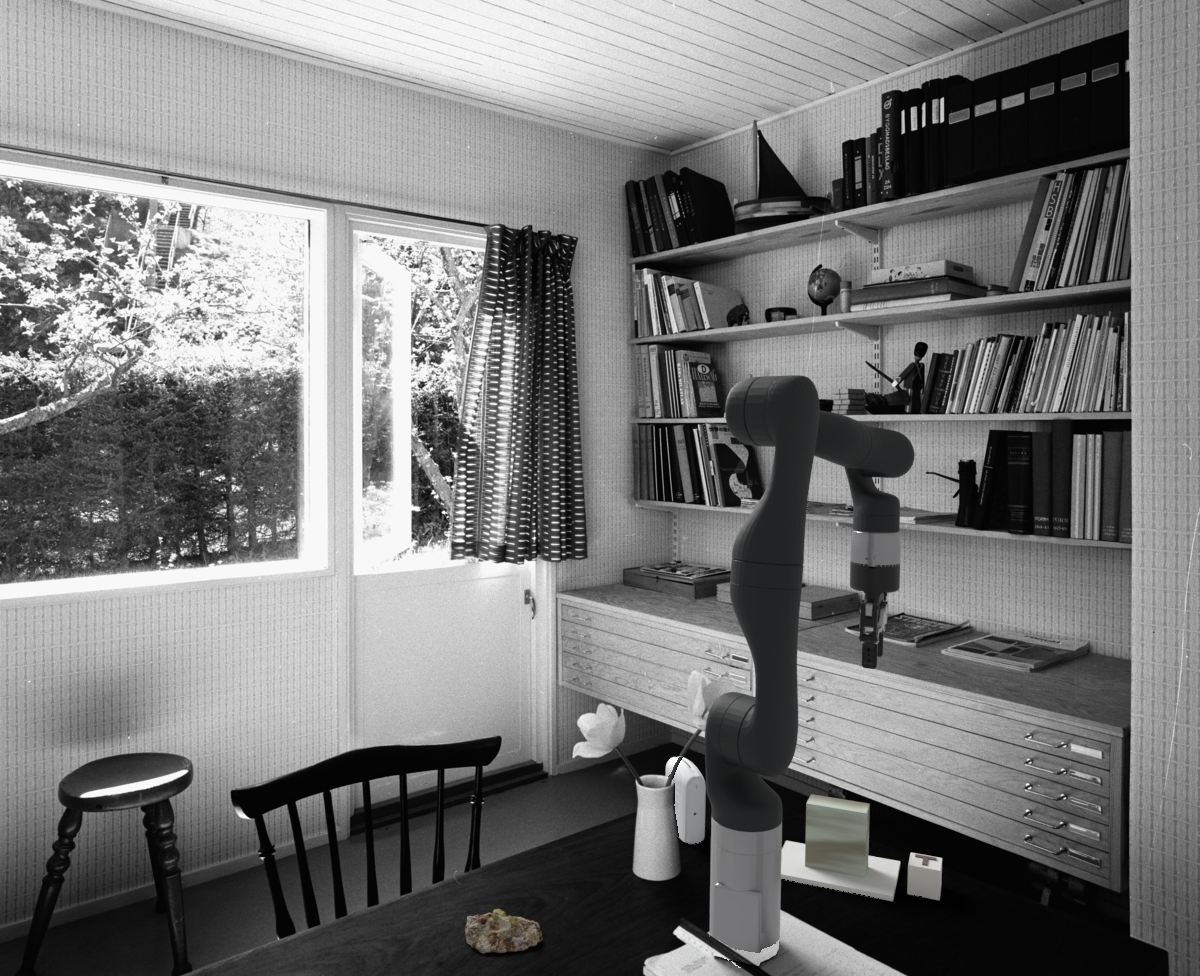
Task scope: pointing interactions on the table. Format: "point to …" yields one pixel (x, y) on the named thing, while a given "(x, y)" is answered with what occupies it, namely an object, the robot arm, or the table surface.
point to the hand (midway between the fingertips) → (872, 661)
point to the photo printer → (688, 800)
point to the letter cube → (924, 876)
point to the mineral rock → (501, 932)
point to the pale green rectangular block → (837, 835)
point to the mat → (874, 884)
